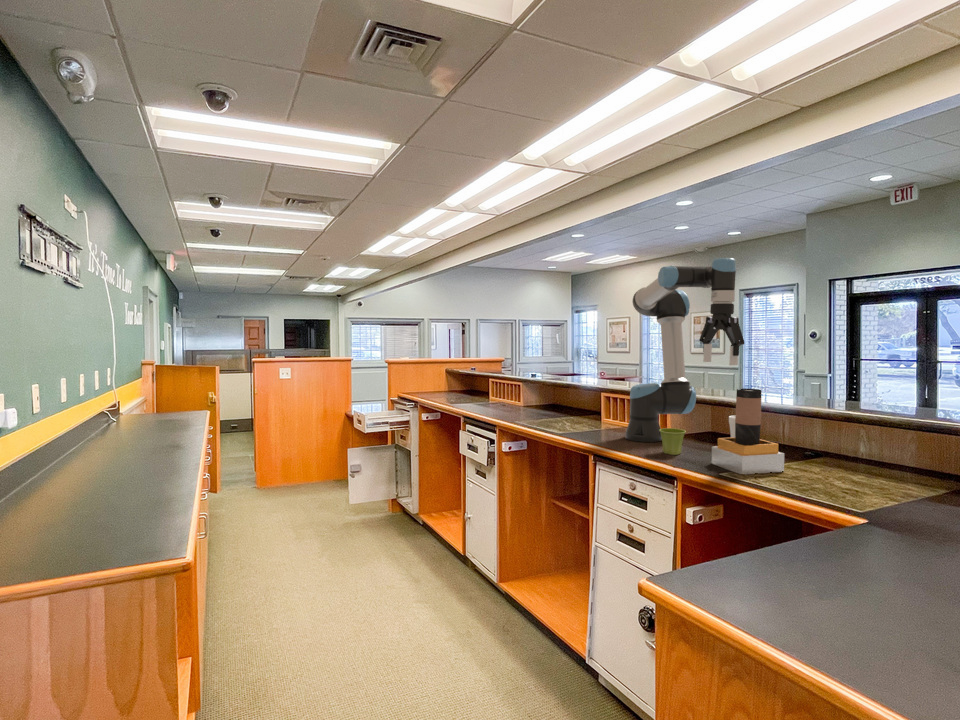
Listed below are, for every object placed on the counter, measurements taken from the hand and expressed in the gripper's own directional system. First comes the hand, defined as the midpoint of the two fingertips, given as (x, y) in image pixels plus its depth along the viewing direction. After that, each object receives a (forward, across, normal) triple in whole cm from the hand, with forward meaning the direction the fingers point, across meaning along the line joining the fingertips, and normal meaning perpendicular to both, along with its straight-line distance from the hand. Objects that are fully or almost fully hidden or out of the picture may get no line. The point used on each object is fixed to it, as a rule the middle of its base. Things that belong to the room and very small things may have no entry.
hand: (719, 363), depth 193 cm
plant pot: (+35, -12, -10) cm, 38 cm away
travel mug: (+28, +13, +2) cm, 31 cm away
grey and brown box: (+34, +13, +4) cm, 37 cm away
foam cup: (+35, -9, +18) cm, 40 cm away
